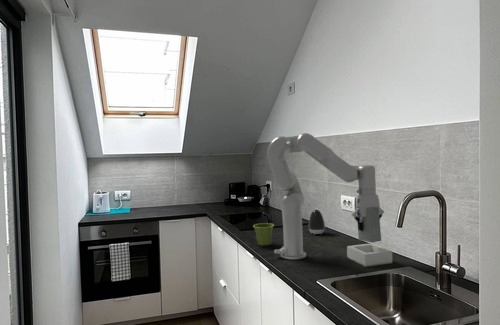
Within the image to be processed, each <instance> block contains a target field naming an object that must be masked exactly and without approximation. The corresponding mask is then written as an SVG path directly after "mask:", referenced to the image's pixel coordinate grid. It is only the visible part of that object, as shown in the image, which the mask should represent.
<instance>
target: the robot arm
mask: <svg viewBox="0 0 500 325" xmlns="http://www.w3.org/2000/svg"><path fill="white" fill-rule="evenodd" d="M266 152H267V153H266V154H267V155H266V156H267V161H268V164H269V166H270V170H271V173H272V176H273V179H274V182H275V185H276V187H277V189H278V190H280V191H281V192H282V193H283V197H282V199H281V202H280V204H281V205H280V207H281V215H282V234H283V235H282V236H283V246H281V248H279V249H274V251H273V252H274V254H279V255H280V257H281V258H283V259H286V260H300V259H304V258H306V257H307V253H306V252H305V251H304V243H303V241H304V239H303V218H302V217H303V216H302V207H303V205H304V203H305V198H304V195H303V191H302V189H301V186H300V182H299V180H298V178H297V176H296V174H295V173H293V171H291V170H290V168H289V164H288V162H287V160H286V158H285V154H291V153H299V152H303V153H305V154H307V155H308V156H310V157H311V158H312V159H314V160H315V161H316V162H317V163H319V164H320V165H322V166H323V167H324V168H326V169H327V170H328V171H329V172H331V173H332V174H334V175H335V176H337V177H338V178H340V180H342V181H343V182H345V183H353V182H355V181H358V189H357V190H356V193H357V194H358V195H357V197H356V208H357V209H355V210H354V211H352V212H351V216H352V217H353V218H354V220H355V221H356V222H357V231H358V230H360V231H363V222H362V220H363V218H364V217H367V208H375V207H379V218H380V219H381V218H382V216H383V215H384V212H385V211H384V210H383V209H382V208H381V206H380V205H381V204H380V199H379V196H378V194H377V192H376V191H377V186H376V168H375V166H374V165H367V164H366V165H365V164H364V165H351V164H349V163H348V162H346V161H345V160H344V159H342V158H341V157H339V156H338V155H337V154H336V152H334V150H333V149H331V148H330V147H329V146H327V145H326V144H324V143H323V142H321V141H320V140H318V138H315V136H314V135H313V134H310V133H307V132H306V133H305V132H304V133H301V134H300V135H292V136H283V135H282V136H277V137H276V138H274V139H273V140H272V141H271V142H269V145H268V148H267V151H266ZM358 212H360V214H358ZM357 215H358V217H357Z"/></svg>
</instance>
